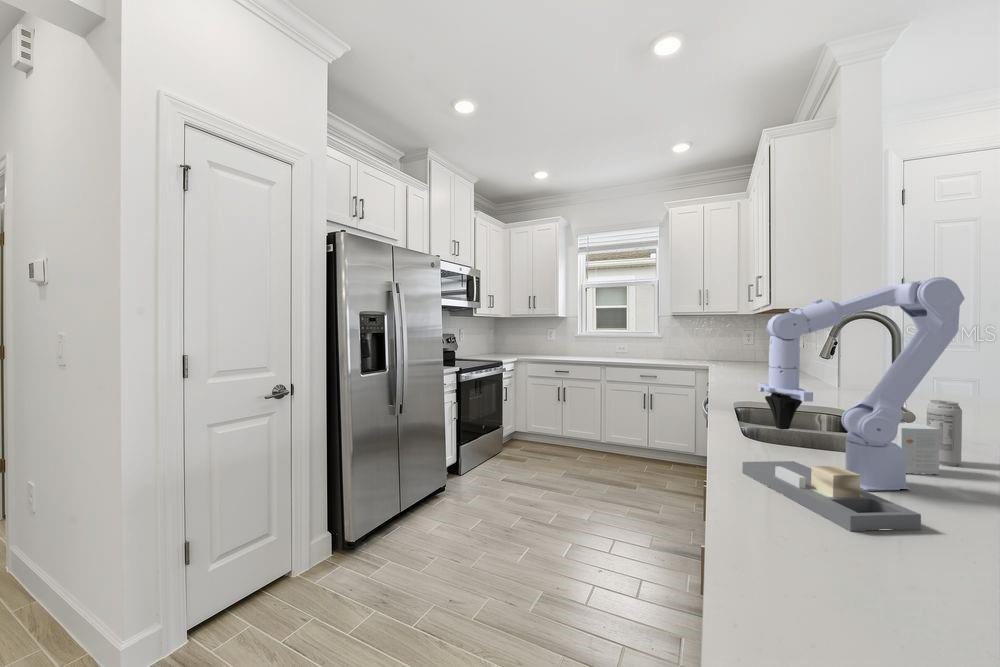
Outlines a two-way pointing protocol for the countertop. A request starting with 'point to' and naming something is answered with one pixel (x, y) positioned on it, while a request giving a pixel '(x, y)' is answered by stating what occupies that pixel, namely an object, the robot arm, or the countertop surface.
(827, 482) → the block
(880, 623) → the countertop surface
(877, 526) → the grey long flat tray
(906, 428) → the small box
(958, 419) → the energy drink can
